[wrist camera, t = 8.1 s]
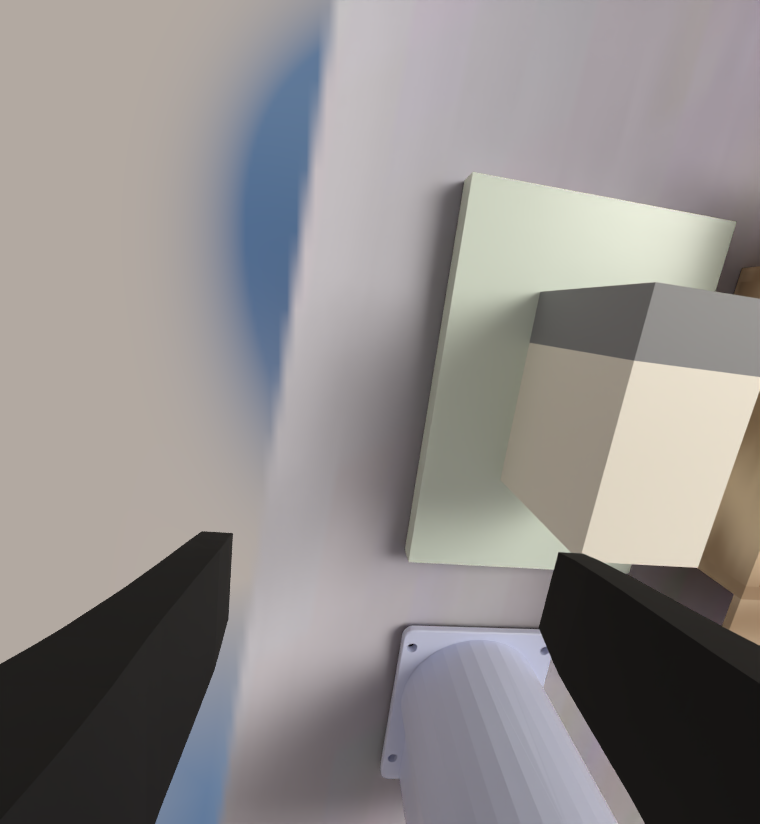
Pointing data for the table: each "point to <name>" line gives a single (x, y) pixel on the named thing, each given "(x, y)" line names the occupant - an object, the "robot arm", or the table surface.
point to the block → (633, 417)
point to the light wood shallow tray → (740, 518)
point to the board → (524, 346)
